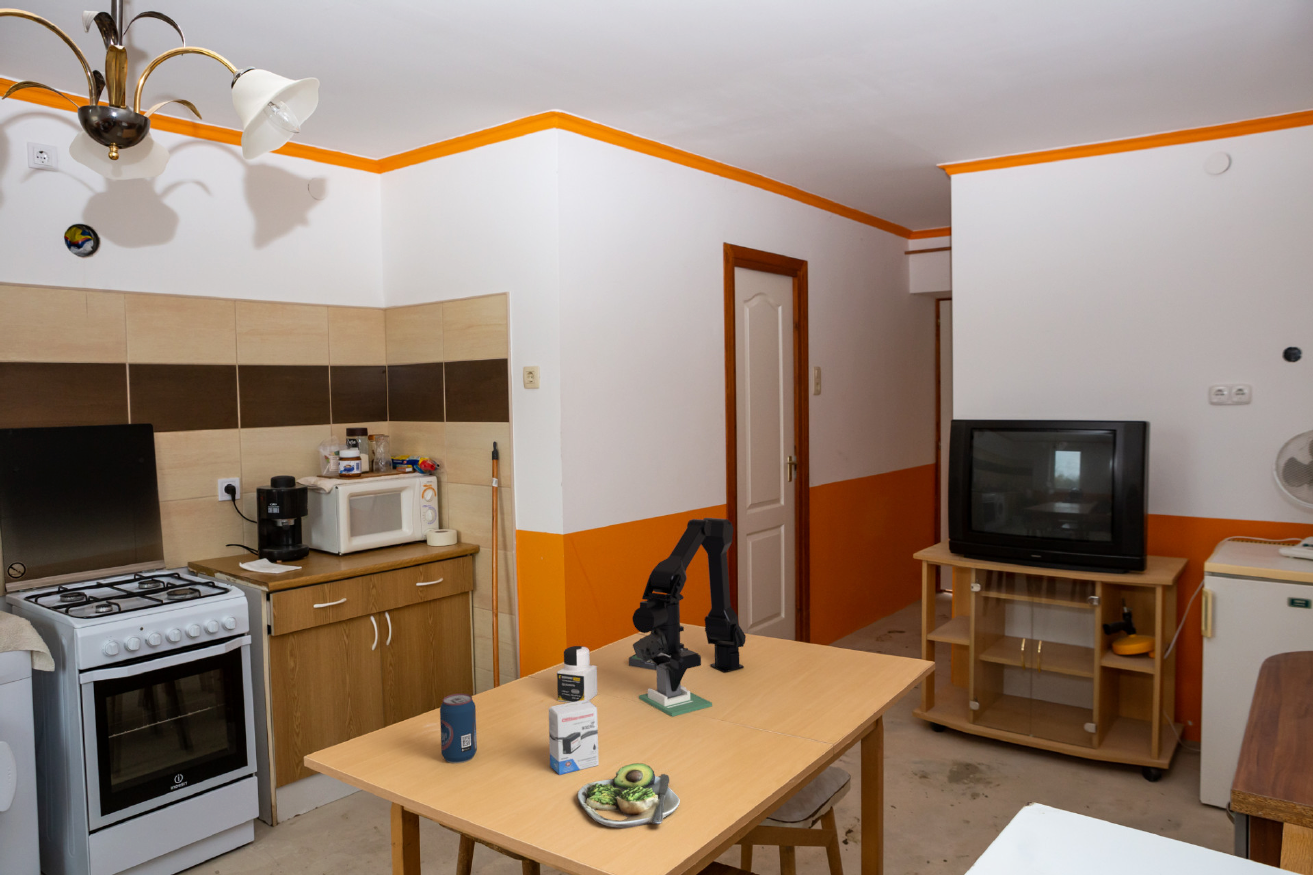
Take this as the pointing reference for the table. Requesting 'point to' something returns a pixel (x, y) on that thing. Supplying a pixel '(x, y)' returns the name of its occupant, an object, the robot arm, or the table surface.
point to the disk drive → (644, 662)
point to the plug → (665, 682)
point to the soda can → (458, 728)
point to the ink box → (573, 736)
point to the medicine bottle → (577, 676)
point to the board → (675, 702)
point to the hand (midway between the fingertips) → (668, 688)
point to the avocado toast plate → (630, 797)
